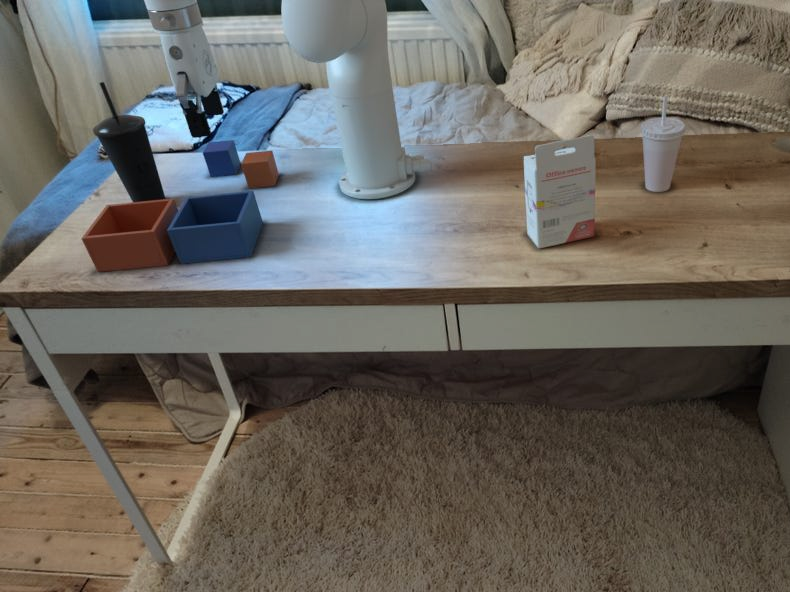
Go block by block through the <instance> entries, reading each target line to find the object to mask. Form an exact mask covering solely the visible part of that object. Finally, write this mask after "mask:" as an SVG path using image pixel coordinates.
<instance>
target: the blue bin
mask: <svg viewBox="0 0 790 592" xmlns="http://www.w3.org/2000/svg"><path fill="white" fill-rule="evenodd" d="M263 225H264V221H263V218H262V215H261V211H260V208H259V205H258V202H257V198H256V195H255V192H254V190H247V191H246V190H245V191H236V192H226V193H215V194H208V195H207V194H206V195H196V196H186V197H185V198H184V200H183V202H182V204H181V205H180V207H179V208H178V212H177V214H176V216H175V217H174V219H173V221H172V223H171V224H170V226H169V228H168V230H167V231H168V234H169V236H170V239H171V241H172V244H173V246H174V249H175V253H176V256H177V259H178V261H179V265H180V264H181V265H183V264H193V263H202V262H203V263H205V262H215V261H224V260H235V259H245V258H251V257H252V255H253V252H254V249H255V246H256V244H257V241H258V238H259V236H260V233H261V230H262V227H263Z"/></svg>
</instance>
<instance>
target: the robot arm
mask: <svg viewBox="0 0 790 592" xmlns="http://www.w3.org/2000/svg"><path fill="white" fill-rule="evenodd" d="M143 1H144V4H145V8H146V11H147V14H148V17H149V20H150V24H151V26H152V29H153V33H155V34H158V35H159V38H160V42H161V47H162V51H163V55H164V58H165V59H164V60H165V62H166V63H165V64H166V66H167V70H168V73H169V77H170V79H171V82H172V85H173V88H174V91H175V96H176V98H177V100H178V102H179V106H180V108H181V110H182V114H183V116H184V117H185V121H186V124H187V127H188V131H189V133H190V136H191V137H192V138H204V137H210V136H211V135H212V131H211V128H210V125H209V124H210V123H209V121H208V118H207V117H208V116H218V115H221V116H222V115H224V112H225V110H224V107H223V103H222V100H221V97H220V93H219V90H218V85H217V84H218V82H219V80H220V74H219V71H218V68H217V65H216V62H215V58H214V56H213V53H212V50H211V46H210V43H209V41H208V39H207V35H206V33H205V30H204V28H203V26H204V20H203V18H202V14H201V11H200V7H199V4H198V0H143ZM280 9H281V24H282V29H283V32H284V34H285V37H286V40H287V42H288V44H289V46H290V47H291V49H292V50H293V51H294V52H295V53H296V54H297V55H298V56H299V57H301V58H302V59H304V60H306V61H307V62H311V63H315V64H325V67H326V68H325V69H326V79H327V84H328V90H329V94H330V99H331V104H332V108H333V109H332V110H333V114H334V118H335V123H336V128H337V133H338V138H339V143H340V147H341V152H342V157H343V163H344V166H345V167H344V168H345V172H344V173H343V174H342V175H341V176H340V178H339V180H338V185H339V190H340V191H341V193H343V194H344V195H346V196H348V197H350V198H354V199H358V200H359V199H360V200H379V199H385V198H388V197H392V196H396V195H398V194H400V193H403V192H405V191H406V190H408V189H409V188H410V187H412V185H414V183H415V181H416V172H430V171H433V166H432V159H431V158H425V156H424V154H416V155H410V154H407V151H406V148H405V147H404V146H402V141H401V135H400V134H401V133H400V128H399V122H398V115H397V109H396V101H395V96H394V87H393V80H392V73H391V66H390V58H389V47H388V46H389V45H388V44H389V43H388V9H387V4H386V0H281V6H280ZM193 100H194V101H195V102H194V101H193Z"/></svg>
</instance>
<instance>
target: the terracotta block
mask: <svg viewBox="0 0 790 592" xmlns="http://www.w3.org/2000/svg"><path fill="white" fill-rule="evenodd" d="M240 163H241V164H240V166H241V168H242V171H243V175H244V178H245V181H246V184H247V188H248V189H258V188H259V189H260V188H269V187H275V186H276V184H277V181H278V178H279V177H280V174H279V170H278V167H277V163H276V158H275V156H274V152H273V150H262V151H261V150H260V151H252V152H245V154H244V157H243V159H242V161H241V162H240Z"/></svg>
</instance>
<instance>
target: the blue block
mask: <svg viewBox="0 0 790 592" xmlns="http://www.w3.org/2000/svg"><path fill="white" fill-rule="evenodd" d="M202 155H203V159H204V161H205V165H206V167H207V170H208V173H209V176H210V178H212V177H213V178H214V177H222V176H223V177H224V176H232V175H233V176H234V175H237V173H238V171H239V168H240V167H241V163H242V162H241V160H240V156H239V153H238V150H237V146H236V143H235V140H234V139H231V140H221V141H210V142H208V143H207V144H206V146H205V148H204V149H203V151H202Z"/></svg>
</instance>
